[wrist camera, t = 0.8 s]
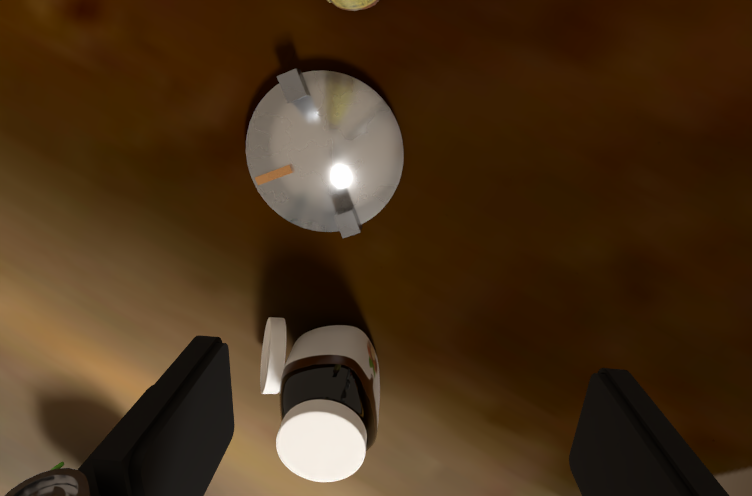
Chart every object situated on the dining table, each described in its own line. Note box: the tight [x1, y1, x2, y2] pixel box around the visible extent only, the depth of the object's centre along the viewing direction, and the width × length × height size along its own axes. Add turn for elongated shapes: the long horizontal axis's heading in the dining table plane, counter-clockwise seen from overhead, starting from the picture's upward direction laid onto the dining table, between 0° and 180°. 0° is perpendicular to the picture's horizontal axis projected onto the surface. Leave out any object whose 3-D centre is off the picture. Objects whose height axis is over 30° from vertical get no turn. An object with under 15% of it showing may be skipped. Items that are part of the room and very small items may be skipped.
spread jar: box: [260, 317, 380, 482], centre depth 37 cm, size 12×11×12 cm
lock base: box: [246, 68, 403, 238], centre depth 35 cm, size 13×13×3 cm
